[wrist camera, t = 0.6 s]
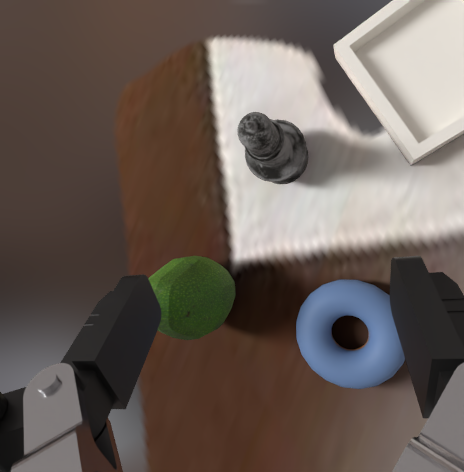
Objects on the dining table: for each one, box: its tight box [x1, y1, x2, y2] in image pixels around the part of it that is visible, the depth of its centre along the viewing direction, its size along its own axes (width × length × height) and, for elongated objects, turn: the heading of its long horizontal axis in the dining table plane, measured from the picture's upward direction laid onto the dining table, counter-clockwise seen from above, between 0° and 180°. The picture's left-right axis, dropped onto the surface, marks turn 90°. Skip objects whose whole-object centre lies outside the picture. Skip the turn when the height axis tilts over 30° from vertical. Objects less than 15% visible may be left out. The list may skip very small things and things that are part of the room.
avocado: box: [148, 256, 236, 340], centre depth 34 cm, size 8×8×12 cm
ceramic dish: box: [334, 0, 464, 165], centre depth 31 cm, size 13×13×2 cm
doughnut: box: [296, 280, 405, 389], centre depth 33 cm, size 10×10×5 cm
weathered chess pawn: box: [238, 112, 308, 184], centre depth 32 cm, size 6×6×12 cm
